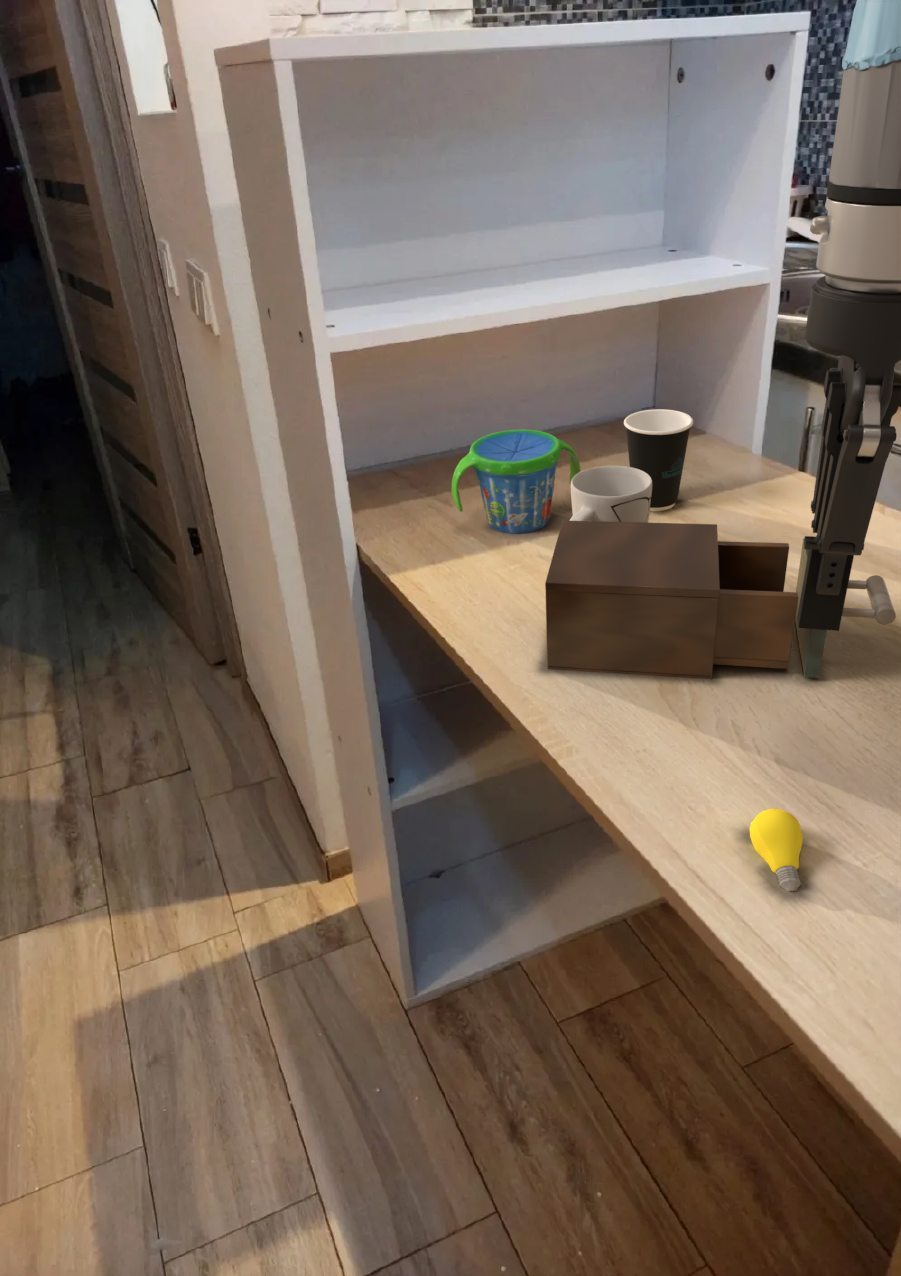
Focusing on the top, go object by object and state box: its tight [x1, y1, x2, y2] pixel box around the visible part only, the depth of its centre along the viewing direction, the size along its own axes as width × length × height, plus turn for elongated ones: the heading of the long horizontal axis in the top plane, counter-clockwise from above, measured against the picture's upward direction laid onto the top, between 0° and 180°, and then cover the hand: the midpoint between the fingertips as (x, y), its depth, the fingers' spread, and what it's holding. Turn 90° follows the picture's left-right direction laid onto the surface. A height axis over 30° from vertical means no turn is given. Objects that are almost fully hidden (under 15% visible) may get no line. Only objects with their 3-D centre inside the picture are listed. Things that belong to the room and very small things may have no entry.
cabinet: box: [544, 520, 720, 680], centre depth 86 cm, size 15×13×10 cm
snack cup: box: [451, 429, 582, 535], centre depth 110 cm, size 16×10×10 cm
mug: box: [568, 465, 652, 523], centre depth 99 cm, size 11×8×10 cm
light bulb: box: [748, 808, 804, 892], centre depth 63 cm, size 3×6×4 cm, turn 0°
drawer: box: [713, 538, 897, 679], centre depth 84 cm, size 19×11×8 cm, turn 77°
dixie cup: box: [623, 408, 694, 512], centre depth 111 cm, size 8×8×11 cm
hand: (817, 623), depth 66 cm, fingers closed
